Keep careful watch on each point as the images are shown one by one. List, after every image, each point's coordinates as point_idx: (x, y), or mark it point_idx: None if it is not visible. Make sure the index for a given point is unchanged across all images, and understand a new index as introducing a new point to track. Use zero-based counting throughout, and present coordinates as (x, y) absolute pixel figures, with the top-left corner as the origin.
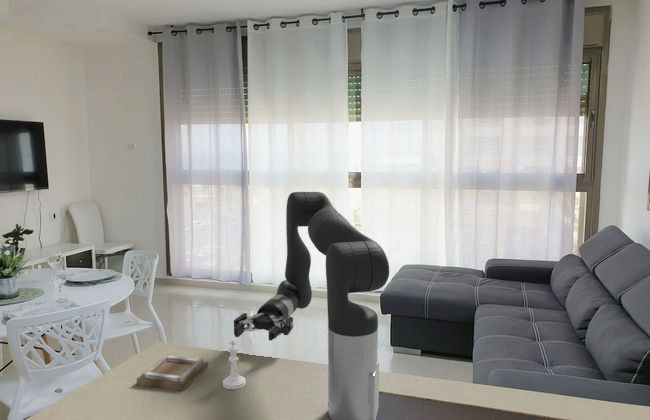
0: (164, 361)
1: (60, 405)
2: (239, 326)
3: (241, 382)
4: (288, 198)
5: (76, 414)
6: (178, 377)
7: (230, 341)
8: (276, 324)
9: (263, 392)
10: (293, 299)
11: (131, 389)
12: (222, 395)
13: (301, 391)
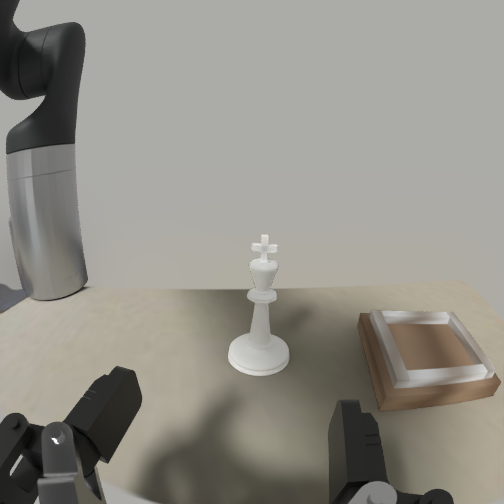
0: (474, 357)
1: (470, 288)
2: (349, 429)
3: (235, 339)
4: None
5: (437, 281)
6: (380, 312)
7: (274, 246)
8: (64, 446)
9: (179, 330)
10: None
11: None
12: None
13: (99, 328)
